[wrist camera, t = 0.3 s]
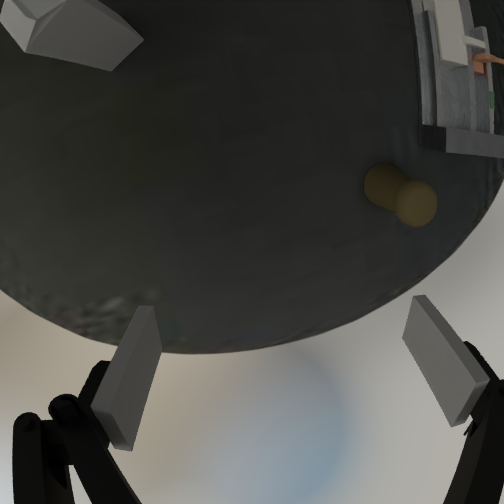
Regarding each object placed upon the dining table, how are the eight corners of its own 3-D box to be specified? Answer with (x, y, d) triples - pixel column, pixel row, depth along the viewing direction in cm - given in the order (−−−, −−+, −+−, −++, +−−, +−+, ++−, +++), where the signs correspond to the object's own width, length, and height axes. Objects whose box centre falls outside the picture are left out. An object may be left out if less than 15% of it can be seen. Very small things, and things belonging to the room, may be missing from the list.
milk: (111, 72, 34) (0, 51, 14) (87, 46, 32) (-26, 16, 12) (145, 39, 33) (54, -16, 12) (119, 13, 31) (23, -45, 10)
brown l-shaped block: (463, 56, 31) (485, 52, 27) (483, 62, 31) (505, 59, 26) (464, 71, 32) (486, 69, 27) (485, 77, 32) (507, 76, 27)
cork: (410, 189, 41) (453, 212, 30) (378, 215, 42) (414, 245, 32) (388, 153, 39) (430, 167, 29) (355, 180, 40) (388, 202, 30)
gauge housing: (402, -26, 28) (424, -42, 21) (463, -8, 28) (489, -18, 21) (418, 145, 38) (445, 152, 32) (477, 150, 38) (506, 158, 31)
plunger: (417, -25, 27) (433, -36, 22) (457, -13, 27) (475, -21, 22) (430, 61, 32) (449, 57, 28) (470, 70, 32) (490, 68, 28)
